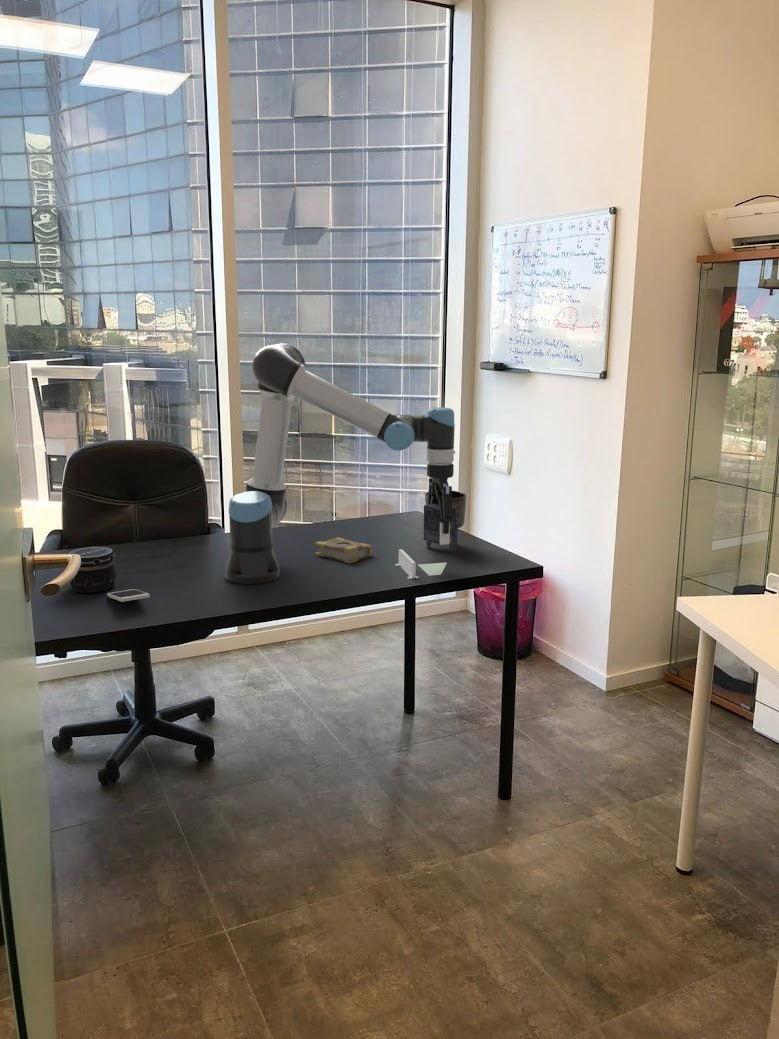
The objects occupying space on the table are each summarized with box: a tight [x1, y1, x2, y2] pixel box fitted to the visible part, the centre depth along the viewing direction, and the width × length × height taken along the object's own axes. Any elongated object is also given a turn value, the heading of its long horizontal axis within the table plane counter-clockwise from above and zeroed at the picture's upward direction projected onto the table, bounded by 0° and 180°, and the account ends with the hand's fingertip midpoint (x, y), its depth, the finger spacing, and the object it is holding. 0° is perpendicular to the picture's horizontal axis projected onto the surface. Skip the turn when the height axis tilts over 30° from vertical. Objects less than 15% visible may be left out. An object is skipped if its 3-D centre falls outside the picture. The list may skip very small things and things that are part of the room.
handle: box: [394, 549, 420, 580], centre depth 248 cm, size 3×14×5 cm, turn 15°
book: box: [314, 537, 373, 564], centre depth 265 cm, size 15×11×5 cm
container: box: [68, 546, 118, 594], centre depth 233 cm, size 13×13×10 cm
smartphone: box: [106, 588, 151, 603], centre depth 222 cm, size 7×15×1 cm, turn 32°
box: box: [423, 503, 456, 546], centre depth 248 cm, size 8×6×11 cm
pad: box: [418, 562, 447, 577], centre depth 251 cm, size 9×11×1 cm
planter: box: [424, 490, 467, 553], centre depth 271 cm, size 13×13×18 cm
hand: (439, 539), depth 249 cm, fingers closed on box, 9 cm apart
